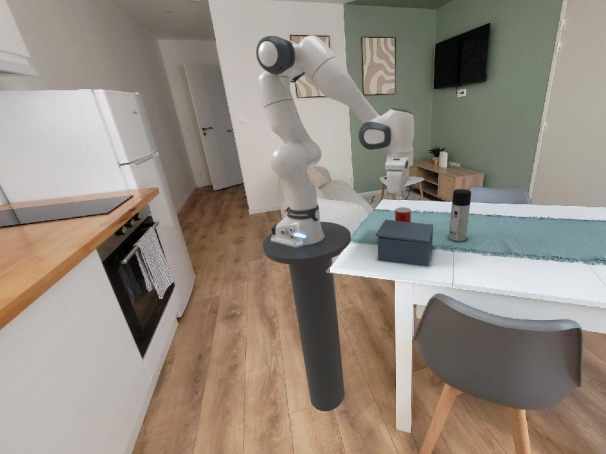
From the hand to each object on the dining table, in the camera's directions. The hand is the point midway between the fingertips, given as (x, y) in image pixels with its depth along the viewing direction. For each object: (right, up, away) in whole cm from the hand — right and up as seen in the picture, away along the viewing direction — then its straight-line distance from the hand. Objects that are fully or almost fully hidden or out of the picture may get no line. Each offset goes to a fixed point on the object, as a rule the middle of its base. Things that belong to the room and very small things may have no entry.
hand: (399, 199), depth 103 cm
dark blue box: (+3, -20, +5) cm, 21 cm away
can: (+4, -14, +18) cm, 23 cm away
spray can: (+26, -15, +15) cm, 33 cm away
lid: (+2, -12, +1) cm, 12 cm away
